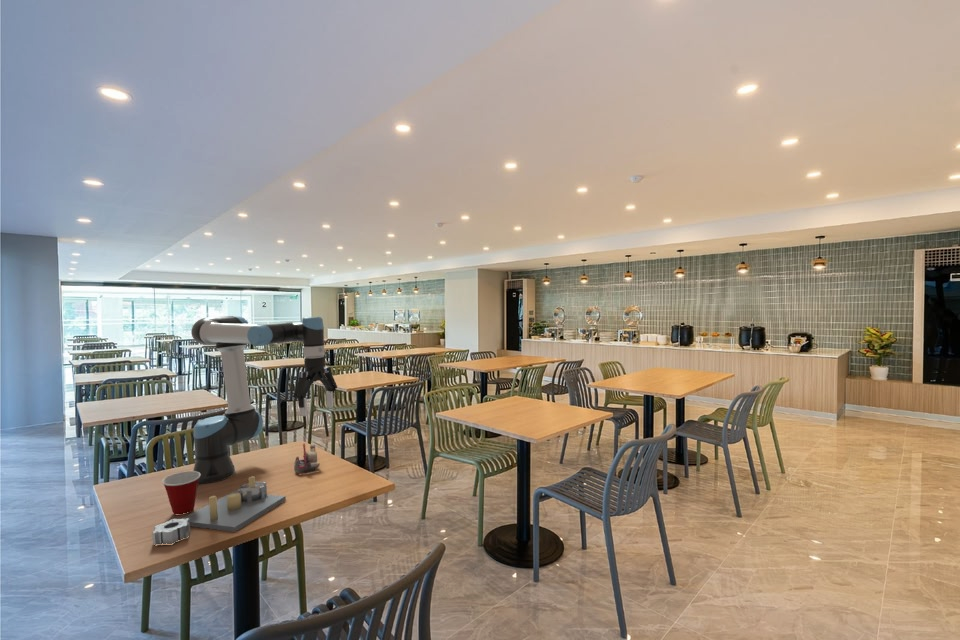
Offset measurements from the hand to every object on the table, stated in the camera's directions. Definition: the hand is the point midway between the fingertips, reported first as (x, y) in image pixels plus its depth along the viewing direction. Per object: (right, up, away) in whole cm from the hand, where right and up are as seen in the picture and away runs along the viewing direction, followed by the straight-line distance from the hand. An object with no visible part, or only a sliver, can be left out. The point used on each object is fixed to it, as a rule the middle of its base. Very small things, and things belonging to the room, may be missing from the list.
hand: (317, 411), depth 174 cm
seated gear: (-16, -26, -18) cm, 35 cm away
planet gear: (-28, -29, -41) cm, 58 cm away
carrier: (-18, -28, -25) cm, 42 cm away
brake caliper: (-8, -27, +11) cm, 30 cm away
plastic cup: (-36, -29, -23) cm, 52 cm away
